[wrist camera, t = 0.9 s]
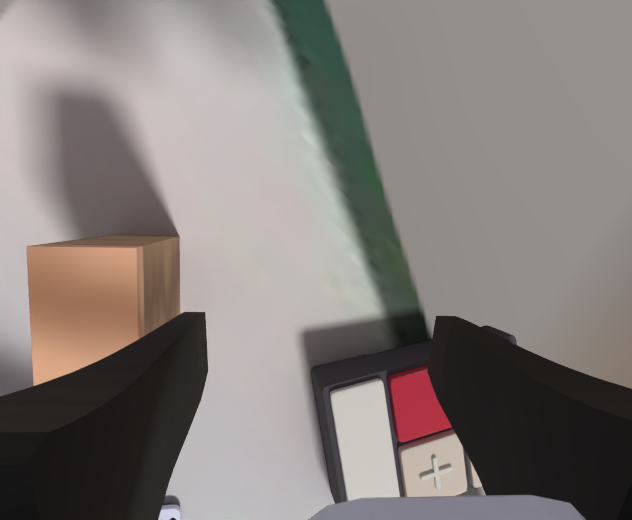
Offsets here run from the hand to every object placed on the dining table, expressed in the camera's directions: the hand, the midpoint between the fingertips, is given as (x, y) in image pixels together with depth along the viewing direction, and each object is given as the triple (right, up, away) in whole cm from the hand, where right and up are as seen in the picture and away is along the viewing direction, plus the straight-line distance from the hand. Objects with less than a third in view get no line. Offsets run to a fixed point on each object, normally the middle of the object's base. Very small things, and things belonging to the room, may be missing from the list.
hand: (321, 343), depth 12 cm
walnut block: (-11, +1, +13) cm, 18 cm away
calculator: (+7, -9, +19) cm, 22 cm away
